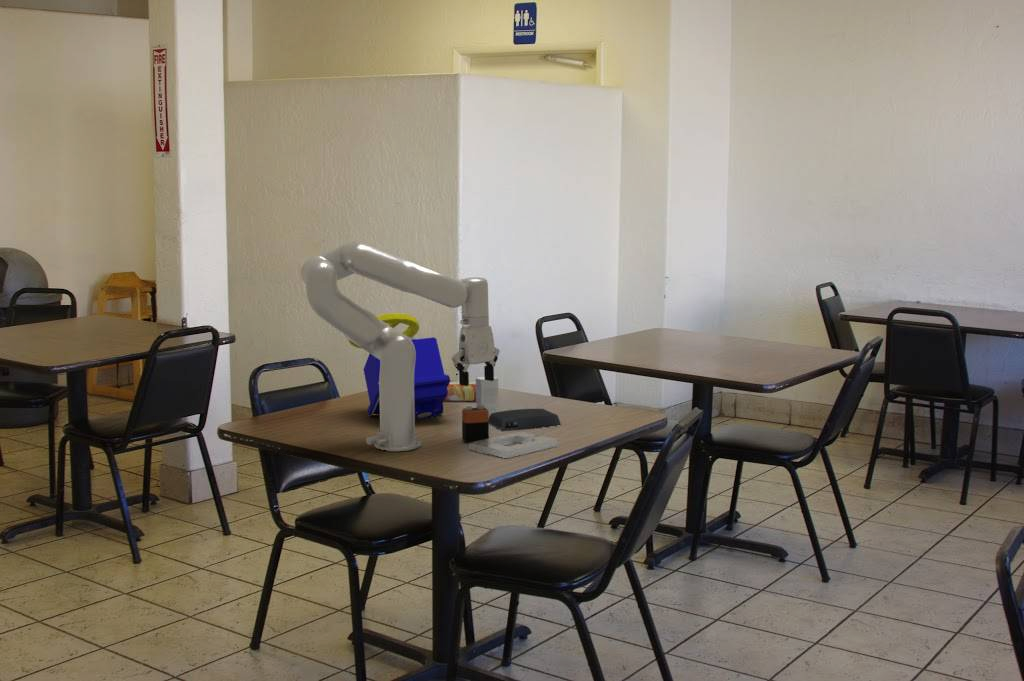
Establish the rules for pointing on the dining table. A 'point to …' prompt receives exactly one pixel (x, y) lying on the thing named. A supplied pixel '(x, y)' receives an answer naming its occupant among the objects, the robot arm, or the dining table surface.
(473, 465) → the dining table surface
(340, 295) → the robot arm
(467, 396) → the snack package
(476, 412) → the battery
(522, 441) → the plate
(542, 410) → the external hard drive
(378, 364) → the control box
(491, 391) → the skincare box
